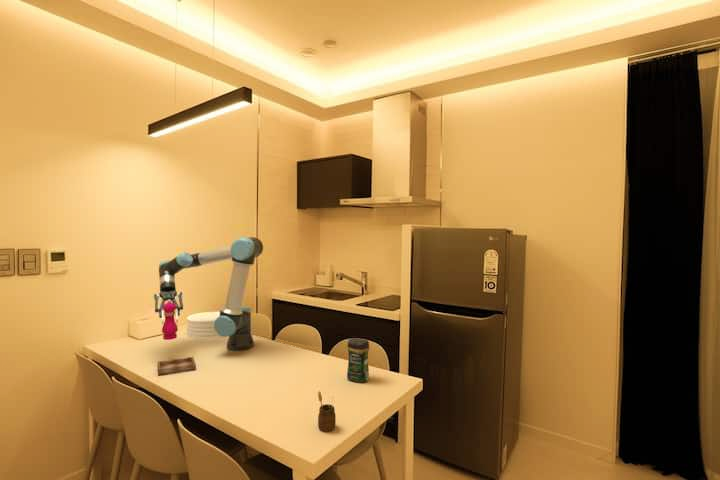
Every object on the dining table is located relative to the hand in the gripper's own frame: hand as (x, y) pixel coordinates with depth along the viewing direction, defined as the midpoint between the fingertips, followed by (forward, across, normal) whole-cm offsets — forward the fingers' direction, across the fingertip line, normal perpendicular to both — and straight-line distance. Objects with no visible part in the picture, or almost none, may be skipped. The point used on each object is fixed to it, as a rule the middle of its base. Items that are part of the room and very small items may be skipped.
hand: (170, 321), depth 195 cm
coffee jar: (+62, -73, +29) cm, 100 cm away
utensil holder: (+84, -43, +52) cm, 108 cm away
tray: (+22, -2, -8) cm, 24 cm away
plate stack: (-21, -26, -51) cm, 61 cm away
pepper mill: (+4, 0, -9) cm, 10 cm away
